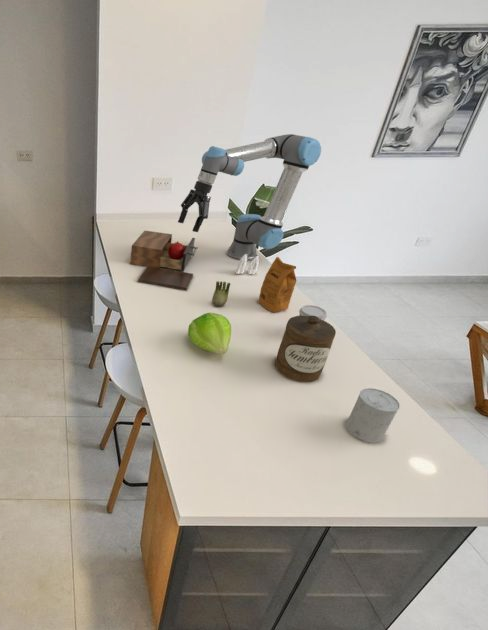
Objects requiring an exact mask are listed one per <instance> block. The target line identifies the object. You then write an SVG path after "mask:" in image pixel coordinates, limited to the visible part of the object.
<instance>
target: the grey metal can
mask: <svg viewBox="0 0 488 630" xmlns="http://www.w3.org/2000/svg"><path fill="white" fill-rule="evenodd" d="M400 407H401V405H400V402H399V401H398V399H397V398H396V397H394V396H393V395H392V394H390V393H388V392H386V391H384V390H381V389H377V388H372V387H371V388H370V387H369V388H367V387H366V388H363V389H361V391H359V394H358V397H357V400H356V402H355V403H354V405H353V408H352V410H351V412H350V414H349V416H348V419H347V421H346V423H345V427H346V430H347V431H348V432H349V433H350V434H351V435H352V436H353V437H355V438H356V439H358V440H360V441H362V442H366V443H369V444H370V443H371V444H377V443H380V442H382V441H383V439H384V437H385V435H386V433H387V432H388V430H389V428H390V426H391V424H392V421H393V420H394V418H395V416H396V414H397V413H398V411H399V409H400Z"/></svg>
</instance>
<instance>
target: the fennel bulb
mask: <svg viewBox="0 0 488 630" xmlns="http://www.w3.org/2000/svg"><path fill="white" fill-rule="evenodd" d="M230 287H231V282H227V281H218V280H217V281H216V284H215V290H214V292H213V295H212V300H211V302H212V305H214V306H216V307H218V308H219V307H220V308H222V307H224V306H226V304H227V302H228V299H229V291H230Z"/></svg>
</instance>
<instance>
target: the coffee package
mask: <svg viewBox="0 0 488 630" xmlns="http://www.w3.org/2000/svg"><path fill="white" fill-rule="evenodd" d="M296 269H297V266H295V265H293V264H289V263H286V262H283V261H282V259H281V258H280V257H279V256H276V258H274V260H273V262H272V263H271V265H270V267H269V268H268V270H267V272H266V273H265V276H264V279H263V282H262V284H261V287H260V290H259V291H260V293H259V296H258V300H257V303H258V304H260V305H262V307H263V308H264V309H265V310H267V311H270V312H271V313H278V312H280V311H281V312H282V311H286V310H288V309H289V306H290V303H291V299H292V296H293V293H294V291H295V286H296V283H297V276H296V273H295V270H296Z"/></svg>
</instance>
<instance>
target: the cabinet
mask: <svg viewBox="0 0 488 630" xmlns="http://www.w3.org/2000/svg"><path fill="white" fill-rule="evenodd" d="M172 237H173V233H168V232H167V233H166V232H160V231H159V232H158V231H151V230H143V232H141V234H140V235H139V236H138V237H137V239H136V240H135V241H134V242H133V243H132V245H131V250H130V251H131V252H130V265H132V266H138V267H144V268H147V266H150V267H156V268H162V267H161V266H160V261H161V252H162V249H163V248H164V246H165V245H166V244H167V243H172V241H173V240H172V239H173V238H172Z"/></svg>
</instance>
